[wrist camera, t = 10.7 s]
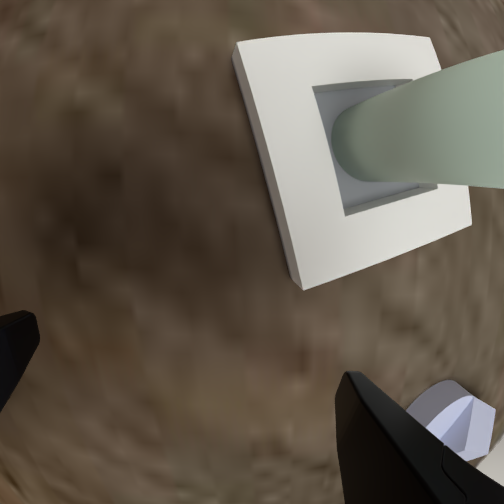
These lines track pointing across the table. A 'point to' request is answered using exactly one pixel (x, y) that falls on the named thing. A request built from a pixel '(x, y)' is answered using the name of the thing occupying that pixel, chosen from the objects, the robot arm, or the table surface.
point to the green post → (429, 129)
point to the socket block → (323, 159)
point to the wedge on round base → (455, 418)
